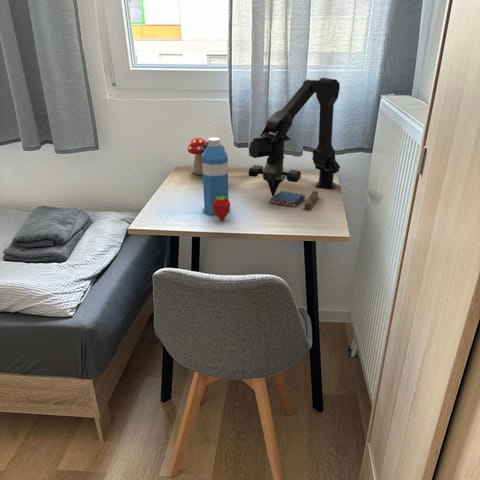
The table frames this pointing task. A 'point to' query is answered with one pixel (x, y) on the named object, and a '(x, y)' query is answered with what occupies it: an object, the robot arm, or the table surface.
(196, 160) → the decorative mushroom
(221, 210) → the strawberry
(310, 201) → the bar
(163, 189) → the table surface
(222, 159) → the water bottle
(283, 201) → the woven mat
